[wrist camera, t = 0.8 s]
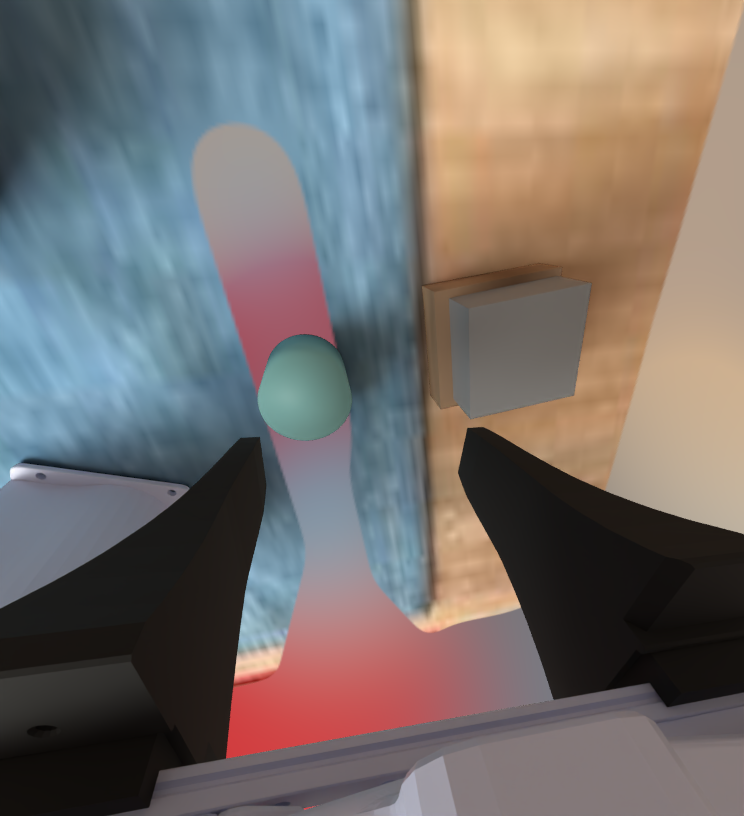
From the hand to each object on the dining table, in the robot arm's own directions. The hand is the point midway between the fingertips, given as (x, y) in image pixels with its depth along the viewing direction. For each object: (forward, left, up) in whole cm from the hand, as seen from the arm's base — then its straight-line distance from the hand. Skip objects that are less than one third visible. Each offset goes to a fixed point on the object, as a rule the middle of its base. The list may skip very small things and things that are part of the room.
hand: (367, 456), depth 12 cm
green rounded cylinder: (-2, -1, -10) cm, 10 cm away
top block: (+8, +4, -8) cm, 12 cm away
